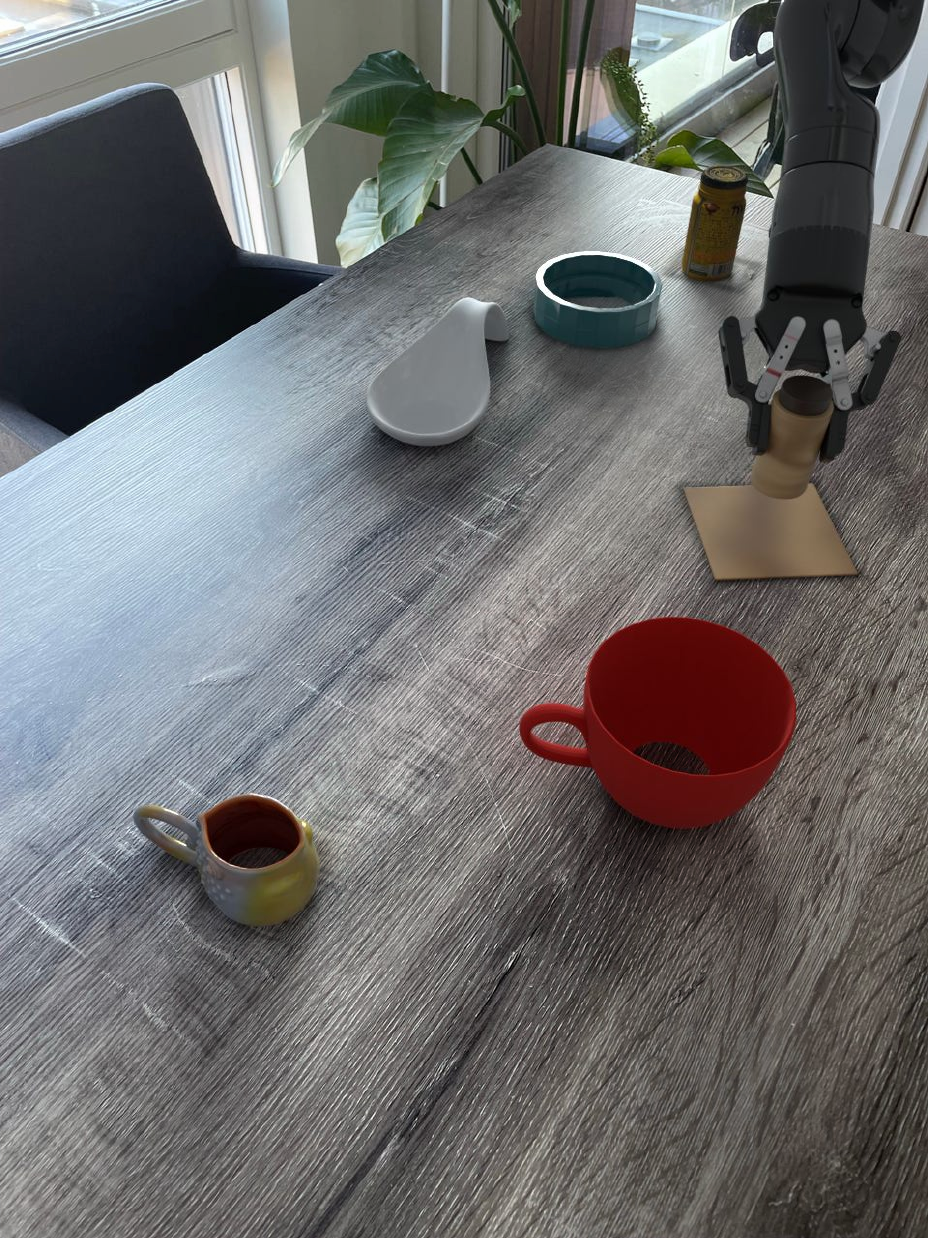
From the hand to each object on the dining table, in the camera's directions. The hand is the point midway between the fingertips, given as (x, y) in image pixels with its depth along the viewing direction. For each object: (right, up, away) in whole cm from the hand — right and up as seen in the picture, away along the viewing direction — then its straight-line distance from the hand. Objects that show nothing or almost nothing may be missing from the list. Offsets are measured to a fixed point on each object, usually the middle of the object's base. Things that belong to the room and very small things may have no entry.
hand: (793, 456), depth 78 cm
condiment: (+4, +28, +42) cm, 50 cm away
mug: (-41, -29, -15) cm, 52 cm away
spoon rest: (-27, +10, +23) cm, 37 cm away
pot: (-11, +21, +34) cm, 41 cm away
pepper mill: (0, -1, +4) cm, 4 cm away
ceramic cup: (-14, -24, -10) cm, 30 cm away
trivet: (0, -6, +8) cm, 10 cm away
